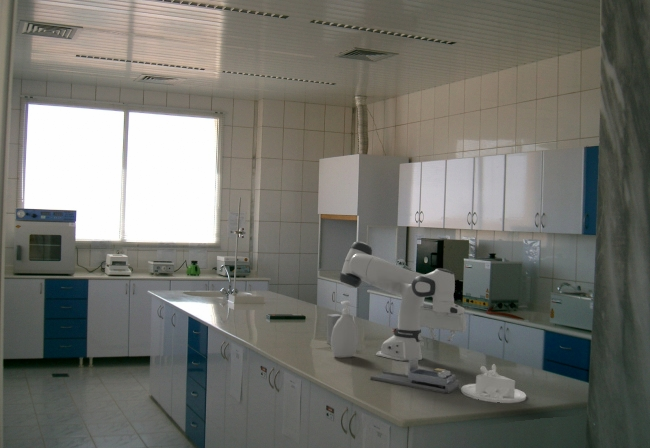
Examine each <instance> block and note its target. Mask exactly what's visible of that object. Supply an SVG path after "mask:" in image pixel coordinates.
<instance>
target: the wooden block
mask: <svg viewBox="0 0 650 448" xmlns="http://www.w3.org/2000/svg"><path fill="white" fill-rule="evenodd" d="M442 370H446V369H443V368H438V367H437V368H435V369H433V371H435V372H442Z"/></svg>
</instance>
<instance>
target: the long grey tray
mask: <svg viewBox="0 0 650 448" xmlns="http://www.w3.org/2000/svg"><path fill="white" fill-rule="evenodd" d="M407 370H408V371H407V375H408V379H409V380H412V383H414V384H416V383H417V381H420V382H425V383H431V384H437V385H441V386H440V388H441V389H445V386H446V385H447V384H449V383H451V382H453V381H455V380H456V374H452V373H450V377H448V378H446V379H444V378H438V372H435V371H434V370H428V369H422V368H419V360H418V358H415V359H413V360H408V369H407Z"/></svg>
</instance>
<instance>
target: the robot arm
mask: <svg viewBox="0 0 650 448" xmlns="http://www.w3.org/2000/svg"><path fill="white" fill-rule="evenodd" d="M339 281H340V283H342V284H343V285H344V286H345V287H347V288H350V289H351V288H352V289H353V288H355V289H356V288H358V287H360V285H361V283H362V282H364V283H366V284H368V285H369V286H372V287H375V288H377V289H380V290H382V291H384V292H387V293H390V294H391V295H395V296H397V297H399V298H401V303H400V307H399V310H398V315H397V327H396V328H393V330H392V332H393V335H392V336H390V337H389V338H387V339H386V340H384V341H383V343H381V349H380V350H378V351H377V352H376V353H375V355H376V356H378V357H382V358H388V359H391V360H396V361H403V362H404V361H410V360H413V359H415V358H418V361H419V360H420V361H421V360H423V356H422V350H421V349H422V348H421V341H422V329H421V327H422V328H428V331H429V334H430V338H431V339H432V340H436V336H437V334H435V333H434V329H439V330H443V331H444V330H445V331H450V332H449V333H450V335H449V336H447V342H453V337H454V335H455V334H456V332H457V333H458V332H459V333H463V332H465V331H466V330H467V316H466V315H465V312H466V309H465V308H464V307H463V306H461V305H459V304H456V303H455V298H454V297H455V296H454V293H455V291H456V290H455V289H456V288H455V287H456V285H455V284H456V282H455V281H456V280H455V274H454V272H453V271H452V270H450V269H447V268H442V267H438V268H435V270H433V271H431V272H428V273H426V274H425V273H421V272H418V271H414V270H411V269H408V268H404V267H402V266H399V265H397V264H395V263H393V262H390V261H388V260H386V259H384V258H382V257H378V256H375V255H373V249H372V247H371V246H370V245H369V244H367V243H366V242H364V241H354V242H353V243H352V244H351V246H350V249H349V251H348V253H347V255H346V257H345V260H344V263H343V266H342V270H341V273H340V275H339ZM429 297H432V305H427V304H424V303H425V298H429Z"/></svg>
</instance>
